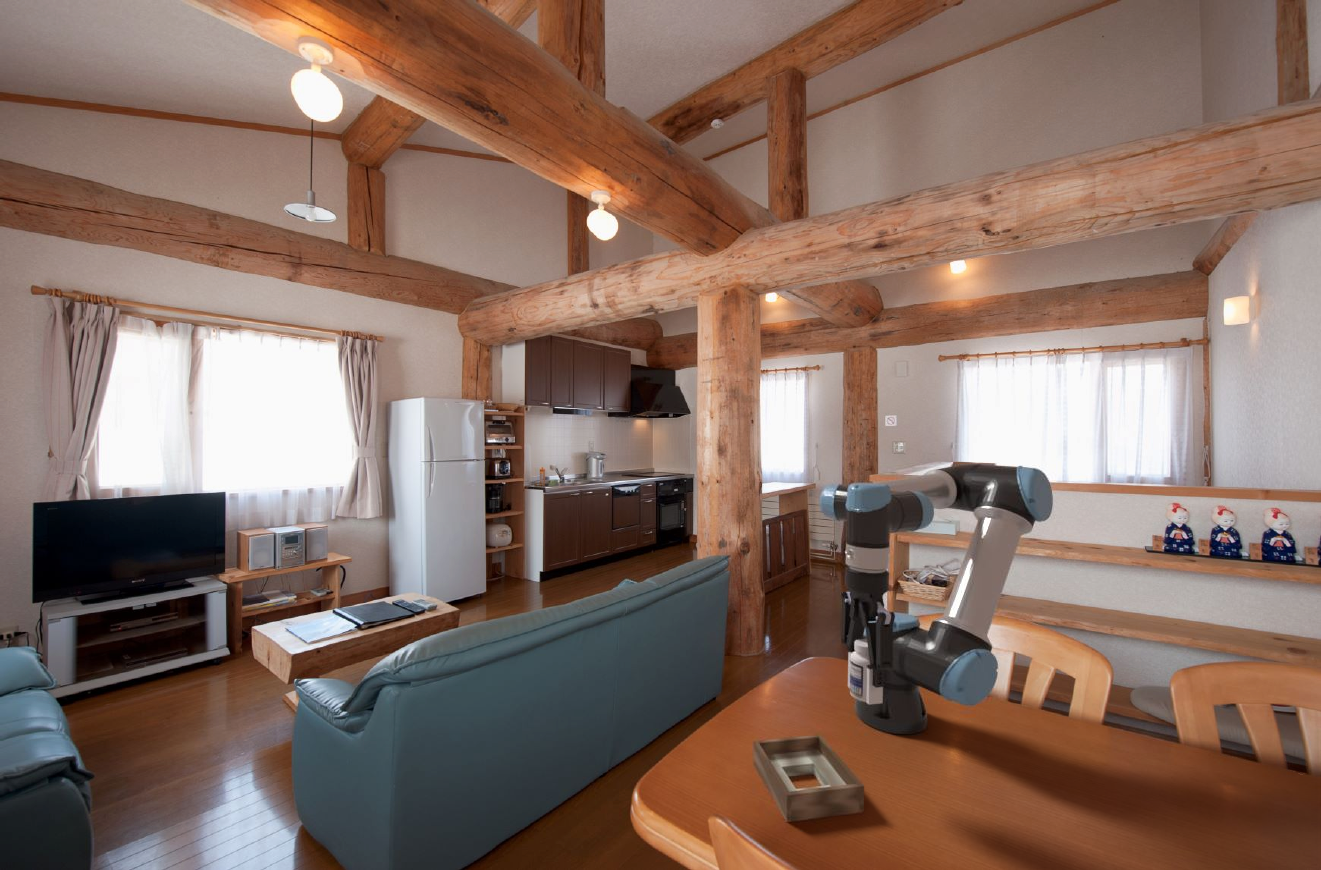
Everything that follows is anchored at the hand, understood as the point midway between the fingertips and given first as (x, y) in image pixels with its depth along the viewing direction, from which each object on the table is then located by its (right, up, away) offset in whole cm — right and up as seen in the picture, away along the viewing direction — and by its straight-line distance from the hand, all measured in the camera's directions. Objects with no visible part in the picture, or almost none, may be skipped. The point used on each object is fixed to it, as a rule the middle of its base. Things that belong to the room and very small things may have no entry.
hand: (864, 694), depth 100 cm
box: (-11, -17, 0) cm, 20 cm away
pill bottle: (0, -1, 0) cm, 1 cm away
